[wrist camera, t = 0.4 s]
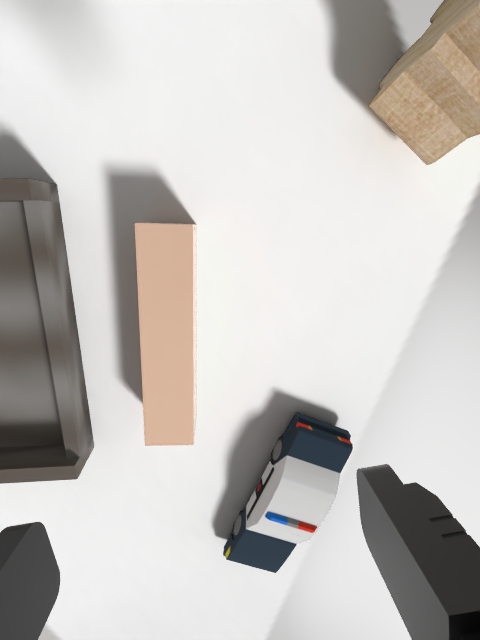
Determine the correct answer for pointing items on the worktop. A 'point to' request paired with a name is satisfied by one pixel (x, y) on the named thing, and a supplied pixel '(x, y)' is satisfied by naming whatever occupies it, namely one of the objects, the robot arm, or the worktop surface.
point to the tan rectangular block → (167, 330)
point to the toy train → (436, 84)
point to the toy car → (290, 494)
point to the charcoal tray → (38, 342)
